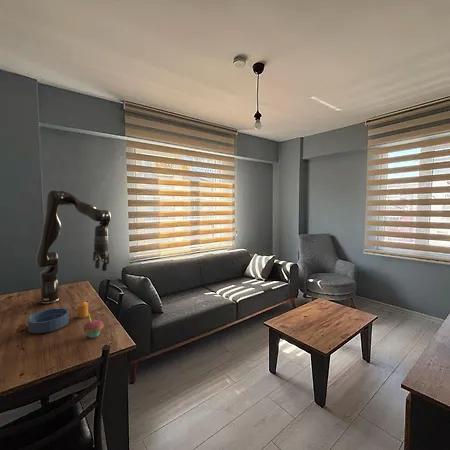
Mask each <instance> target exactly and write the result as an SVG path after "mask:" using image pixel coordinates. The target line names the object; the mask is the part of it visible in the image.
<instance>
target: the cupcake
mask: <svg viewBox="0 0 450 450" xmlns="http://www.w3.org/2000/svg"><path fill="white" fill-rule="evenodd" d="M87 317H88V322H86V323H85V324H84V326H83V328H82V329H83V332H85V333H86V335H87V337H88V338H89V339H93V338H97V337H98V336H99V335H100V334H101V330H102V329H103V328H104V322H103V321H102V320H99V319H92V318H91V314H90V313H89V312H88V316H87Z"/></svg>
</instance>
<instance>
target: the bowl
mask: <svg viewBox="0 0 450 450" xmlns="http://www.w3.org/2000/svg"><path fill="white" fill-rule="evenodd" d="M69 312H70V310H69V309H68V308H66V307H65V308H64V307H54V308H48V309H44V310H41V311H37V312H35V313H33V314H31V315H30V316H28V317H27V319H26V323H27V331H28V332H29V333H30V334H44V333H45V334H46V333H49V332H53V331H56V330H59V329H61V328H63V327H65V326H66V325H68V324H69V322H70V313H69Z"/></svg>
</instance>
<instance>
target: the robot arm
mask: <svg viewBox="0 0 450 450" xmlns="http://www.w3.org/2000/svg"><path fill="white" fill-rule="evenodd" d="M65 205H66V206H71V207H73V208H74V209H75V210H76V211H77V212H78V213H80V214H81V215H84V216H87V217H88V218H90V219H91V220H92V221H95V222H97V223H99V224H98V225H96V226H94V238H93V254H92V255H93V256H92V261H93V262H94V264H95V265H94V268H95V269H96V270H97V269H100V262H101V266H102V267H101V271H103V272H105V271H107V267H108V266H107V265H109V264H110V254H109V253H107V252H108V251H109V227H110V223H111V218H112V216H111V215H112V214H111V212H110V211H109V210H107V209H98V208H97V207H96V206H95V205H93V204H90V203H88V202H85V201H84V200H81V199H79V198H78V197H76V196H75V195H73V194H71V193H70V192H68V191H67V190H64V189H52V190H51V189H50V190H49V191H48V193H47V196H46V205H45V215H44V222H43V225H42V230H41V231H42V232H41V238H40V242H39V245H38V249H37V252H36V255H35V264H36V266H37V267H38V268H45V269H44V270H42V271H40V273H39V281H40V295H41V304H42V305H49V304H54V303H56V302H59V301H60V297H59V293H60V292H59V291H60V288H59V285H61V282H59V279H58V272H59V255H58V253H57V252H56V251H54V250H50V248H51V247H52V245H53V244H55V242H56V241H57V239H58V238H59V237H60V235H61V230H62V223H61V220H60V218H59V216H58V209H59V206H65Z"/></svg>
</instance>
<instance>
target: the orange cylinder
mask: <svg viewBox="0 0 450 450" xmlns="http://www.w3.org/2000/svg"><path fill="white" fill-rule="evenodd" d="M88 313H89V302H87V301H82V302H79V303H77V318H79V319H85V318H87V317H89V316H88Z"/></svg>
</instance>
